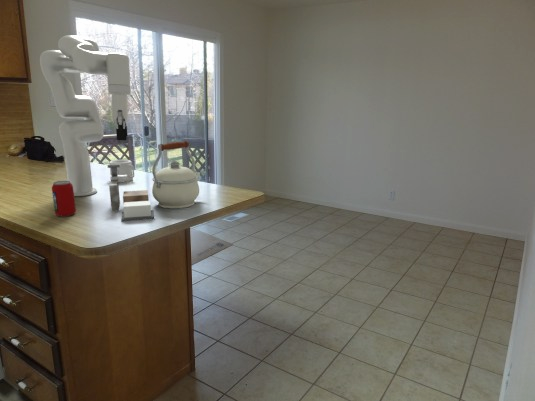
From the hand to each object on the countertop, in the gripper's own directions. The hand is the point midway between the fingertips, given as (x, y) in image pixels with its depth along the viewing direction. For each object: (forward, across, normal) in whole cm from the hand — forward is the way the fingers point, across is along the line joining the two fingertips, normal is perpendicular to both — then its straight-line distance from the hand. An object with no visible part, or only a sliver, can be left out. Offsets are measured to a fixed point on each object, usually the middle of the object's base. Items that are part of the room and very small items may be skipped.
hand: (122, 138), depth 141 cm
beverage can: (+27, +4, -21) cm, 35 cm away
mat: (+26, +13, +4) cm, 30 cm away
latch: (+17, -6, -3) cm, 18 cm away
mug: (+29, -54, -3) cm, 61 cm away
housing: (+27, -1, +2) cm, 27 cm away
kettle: (+27, -2, +20) cm, 34 cm away
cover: (+26, +13, +4) cm, 29 cm away
